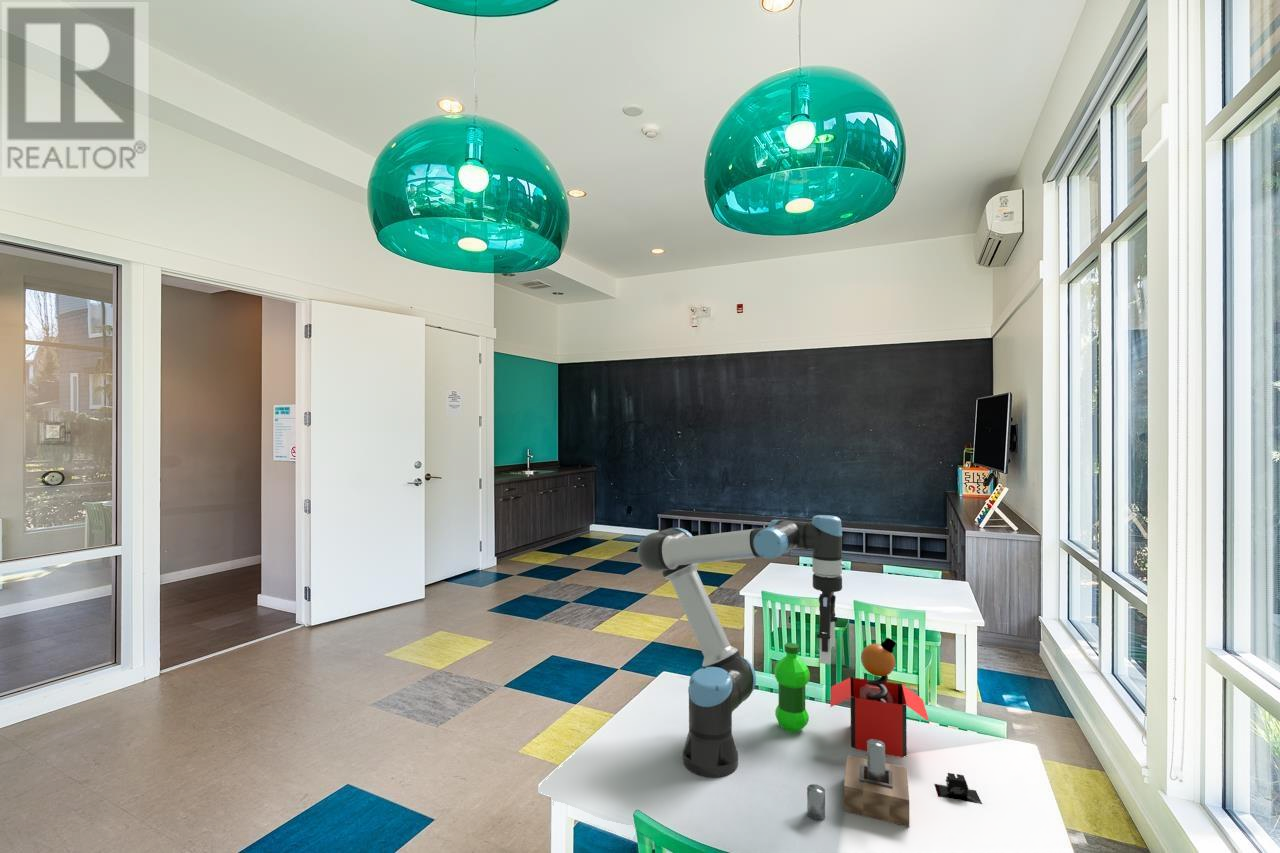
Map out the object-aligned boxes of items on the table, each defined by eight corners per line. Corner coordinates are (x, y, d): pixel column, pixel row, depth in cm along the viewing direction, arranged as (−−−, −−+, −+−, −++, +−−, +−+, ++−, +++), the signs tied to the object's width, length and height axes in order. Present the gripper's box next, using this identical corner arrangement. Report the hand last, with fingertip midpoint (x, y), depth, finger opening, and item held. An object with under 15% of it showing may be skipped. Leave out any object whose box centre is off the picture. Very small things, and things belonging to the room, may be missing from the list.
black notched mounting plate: (981, 791, 145) (981, 773, 145) (989, 809, 138) (989, 790, 138) (926, 783, 149) (926, 765, 149) (932, 800, 142) (931, 781, 142)
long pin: (867, 804, 139) (867, 745, 139) (867, 794, 143) (867, 737, 143) (885, 808, 138) (884, 749, 138) (885, 798, 141) (884, 741, 141)
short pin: (806, 818, 134) (806, 792, 134) (808, 807, 138) (808, 782, 138) (824, 822, 132) (824, 796, 133) (825, 812, 136) (825, 786, 136)
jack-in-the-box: (922, 734, 172) (921, 633, 172) (929, 762, 157) (929, 651, 158) (831, 719, 180) (831, 623, 181) (830, 744, 166) (830, 640, 166)
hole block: (844, 811, 136) (844, 784, 137) (847, 778, 149) (847, 753, 149) (909, 826, 131) (909, 798, 131) (906, 791, 144) (906, 766, 144)
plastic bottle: (793, 740, 168) (793, 654, 169) (767, 725, 177) (767, 643, 177) (816, 730, 174) (816, 647, 174) (790, 716, 182) (789, 637, 183)
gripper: (838, 586, 141) (839, 674, 141) (844, 565, 164) (845, 640, 164) (807, 583, 144) (807, 669, 144) (817, 563, 167) (817, 637, 167)
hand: (827, 654), depth 154 cm, fingers open, 13 cm apart
